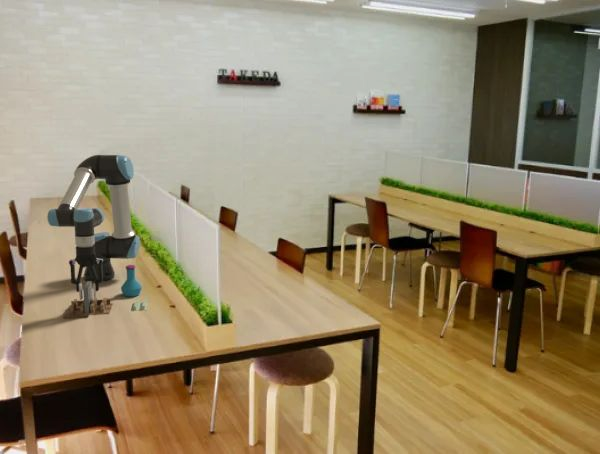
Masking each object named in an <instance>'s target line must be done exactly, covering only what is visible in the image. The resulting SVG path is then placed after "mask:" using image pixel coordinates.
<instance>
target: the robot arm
mask: <svg viewBox="0 0 600 454" xmlns="http://www.w3.org/2000/svg"><path fill="white" fill-rule="evenodd" d="M73 175H74V177H73V179H72V181H71V182H70V184H69V186H68V188H67V190H66V192H65V193H64V196H63V198H62V200H61V202H60V204H59V205H58V207H57V208H52V209H49V211H47V217H46V219H47V223H48V225H50V226H51V227H59V228H60V227H61V228H63V227H64V228H65V227H66V228H69V227H70V228H71V227H72V228H74V239H75V240H74V241H75V242H74V243H75V258H73V259H69V261H68V264H69V266H70V281H71V282H70V283H71V284H73V285H75V290H76V292H77V293H79V301H83V299H84V294H83V283H82V282H81V279H82V275H83V280H85V281H87V280H88V281H92V282H93V283H92V290H93V299H96V298H98V294H97V293H98V292H99V290H100V283H103V282H104V281H109V280H112V278H113V279H114V278H115V277H116V276H115V275H116V273H115V270H114V268H113V266H112V265H113V264H112V263H111V259H120V260H121V259H123V260H126V259H127V260H128V259H130V260H131V259H135V258H137V256H138V255H139V251H140V246H141V238H140V236H138V235H136V231H135V230H133V229H132V227H133V226H132V219H131V208H130V206H131V205H130V199H129V198H130V197H129V189H128V185H129V184H130V183H131V180H132V179H134V166H133V163H132V160H131V159H130V157H129V156H127V155H121V154H95V155H91V156H89V157H87V158H86V159H84V160H82V162H81V163H79V164H78V165H77V166H76V169H75V170H74V171H73ZM99 179H100V180H105V182H104V183H105V185H106V186H108V187H109V195H110V206H111V214H112V222H113V231H112V233H111V234H110V232H96V233H95V228H96V227H98V226H100V225H102V223H103V222H104V221H105V214H104V212H103V211H102V210H101V209H100V208H91V207H80V205H81V203H82V201H83V199H84V197H85V194H86V193H87V191H88V189H89V188H90V185H91V184H92V183H94V182H95V180H99ZM76 263H77V264H78V265H79V268H78V272H77V276H76V268H75V267H76V266H75V265H76ZM84 268H85V269H84ZM83 270H84V273H83ZM114 276H115V277H114Z"/></svg>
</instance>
